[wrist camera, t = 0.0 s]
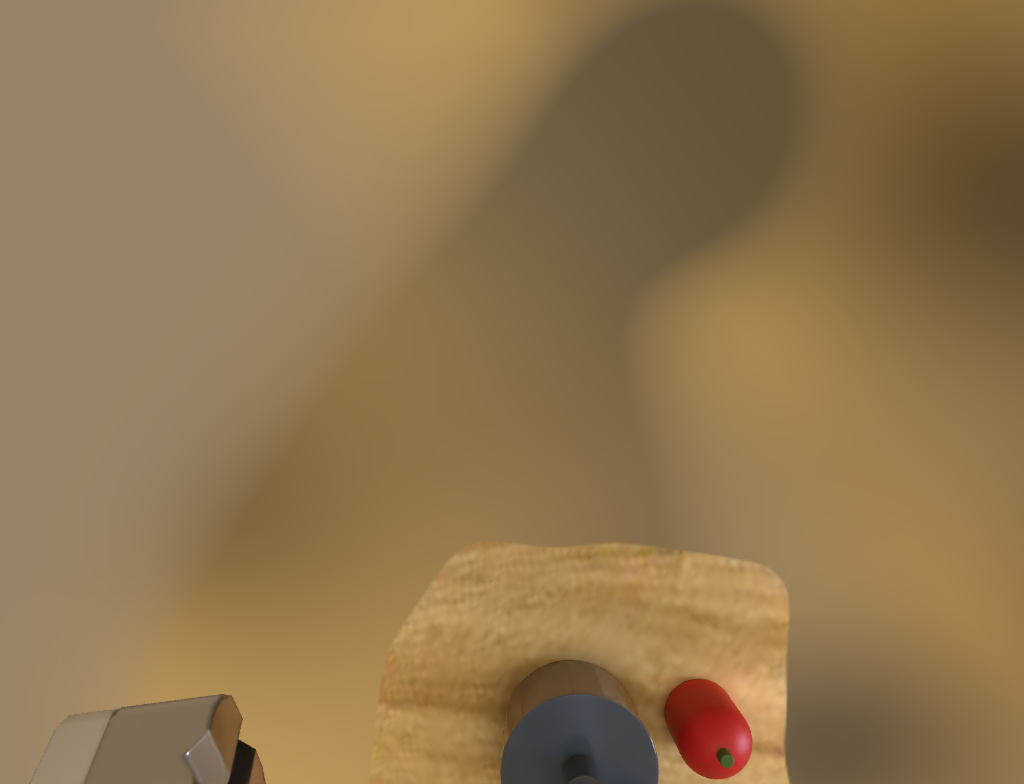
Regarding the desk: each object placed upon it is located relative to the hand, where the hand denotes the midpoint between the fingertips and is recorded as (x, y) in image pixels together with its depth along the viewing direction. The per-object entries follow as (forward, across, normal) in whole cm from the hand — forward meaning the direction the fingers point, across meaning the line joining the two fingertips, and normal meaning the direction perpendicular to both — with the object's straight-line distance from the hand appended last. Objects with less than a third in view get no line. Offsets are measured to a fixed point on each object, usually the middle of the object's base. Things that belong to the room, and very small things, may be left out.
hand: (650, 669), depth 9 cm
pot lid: (+31, 0, -43) cm, 53 cm away
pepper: (+36, +10, -46) cm, 60 cm away
